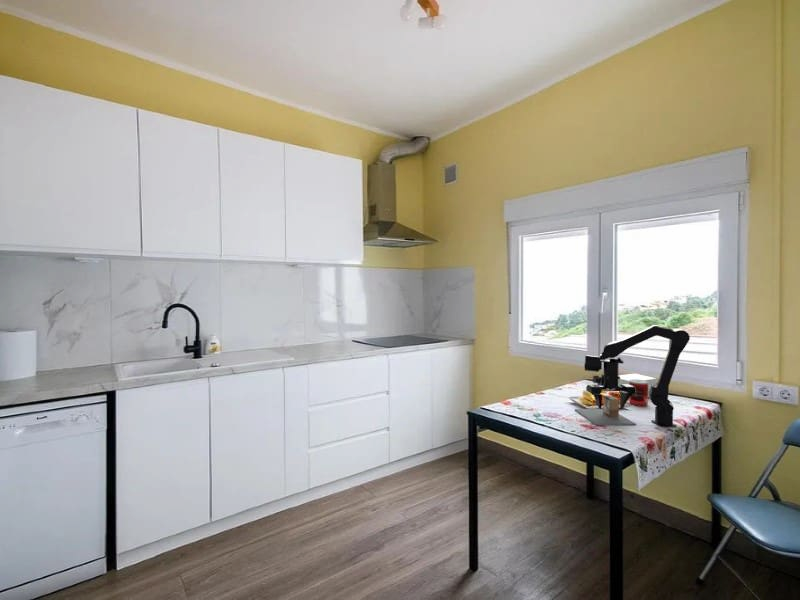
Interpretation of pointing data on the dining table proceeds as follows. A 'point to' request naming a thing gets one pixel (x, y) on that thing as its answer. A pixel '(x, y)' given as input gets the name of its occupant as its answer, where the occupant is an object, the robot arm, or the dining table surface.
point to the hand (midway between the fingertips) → (610, 408)
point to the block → (610, 406)
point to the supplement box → (626, 378)
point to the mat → (603, 417)
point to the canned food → (639, 392)
